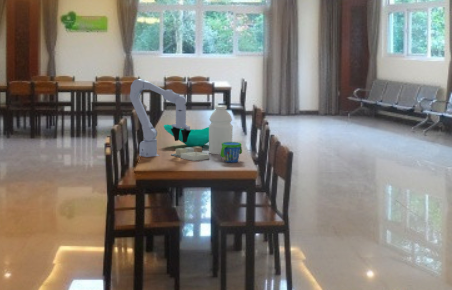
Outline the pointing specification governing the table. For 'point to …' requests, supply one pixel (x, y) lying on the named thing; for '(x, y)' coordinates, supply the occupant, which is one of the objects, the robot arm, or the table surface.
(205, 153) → the parts tray
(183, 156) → the dish
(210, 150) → the bottle
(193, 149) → the light grey cube
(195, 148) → the tan cube
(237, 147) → the snack cup
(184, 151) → the cream cube
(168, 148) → the table surface
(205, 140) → the table top decor
